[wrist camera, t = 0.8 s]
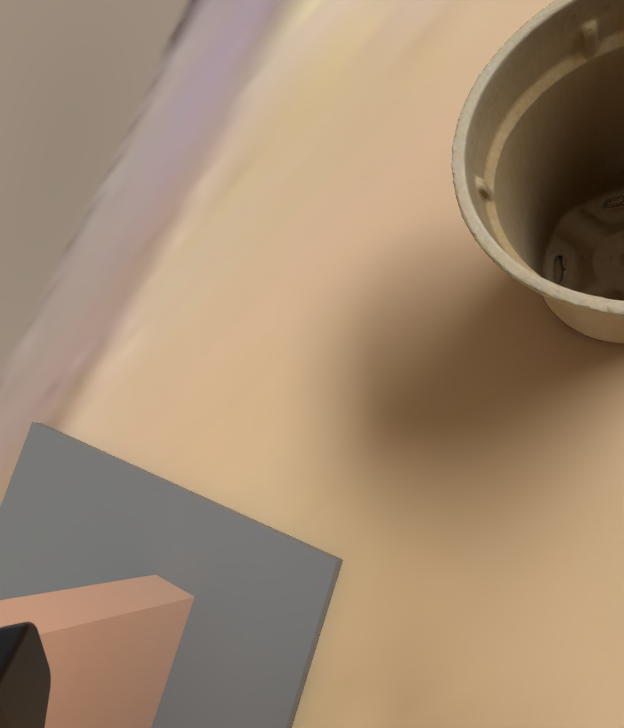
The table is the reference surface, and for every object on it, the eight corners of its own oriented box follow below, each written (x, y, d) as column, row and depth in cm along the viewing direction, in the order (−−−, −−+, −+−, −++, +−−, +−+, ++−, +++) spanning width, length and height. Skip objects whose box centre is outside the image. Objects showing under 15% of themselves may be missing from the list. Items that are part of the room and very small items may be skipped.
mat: (342, 559, 22) (336, 561, 21) (223, 948, 20) (214, 959, 20) (41, 423, 31) (32, 422, 31) (-55, 682, 30) (-67, 685, 29)
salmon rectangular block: (194, 596, 24) (-27, 650, 15) (140, 758, 23) (-124, 914, 14) (152, 572, 25) (-75, 609, 16) (100, 725, 24) (-166, 849, 16)
